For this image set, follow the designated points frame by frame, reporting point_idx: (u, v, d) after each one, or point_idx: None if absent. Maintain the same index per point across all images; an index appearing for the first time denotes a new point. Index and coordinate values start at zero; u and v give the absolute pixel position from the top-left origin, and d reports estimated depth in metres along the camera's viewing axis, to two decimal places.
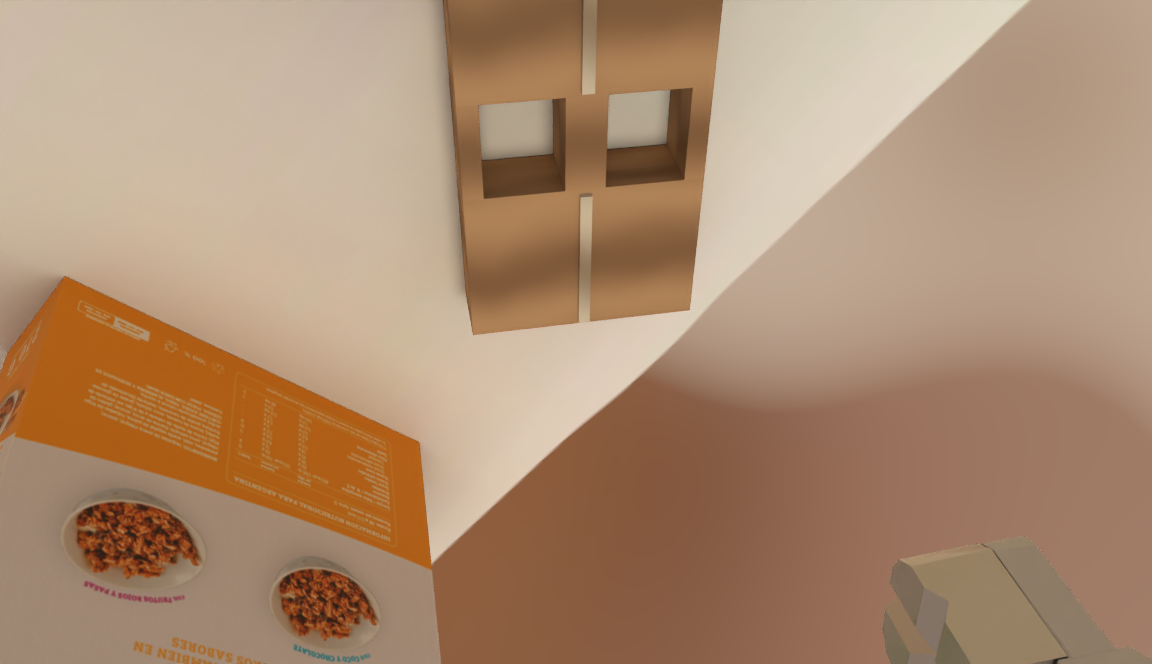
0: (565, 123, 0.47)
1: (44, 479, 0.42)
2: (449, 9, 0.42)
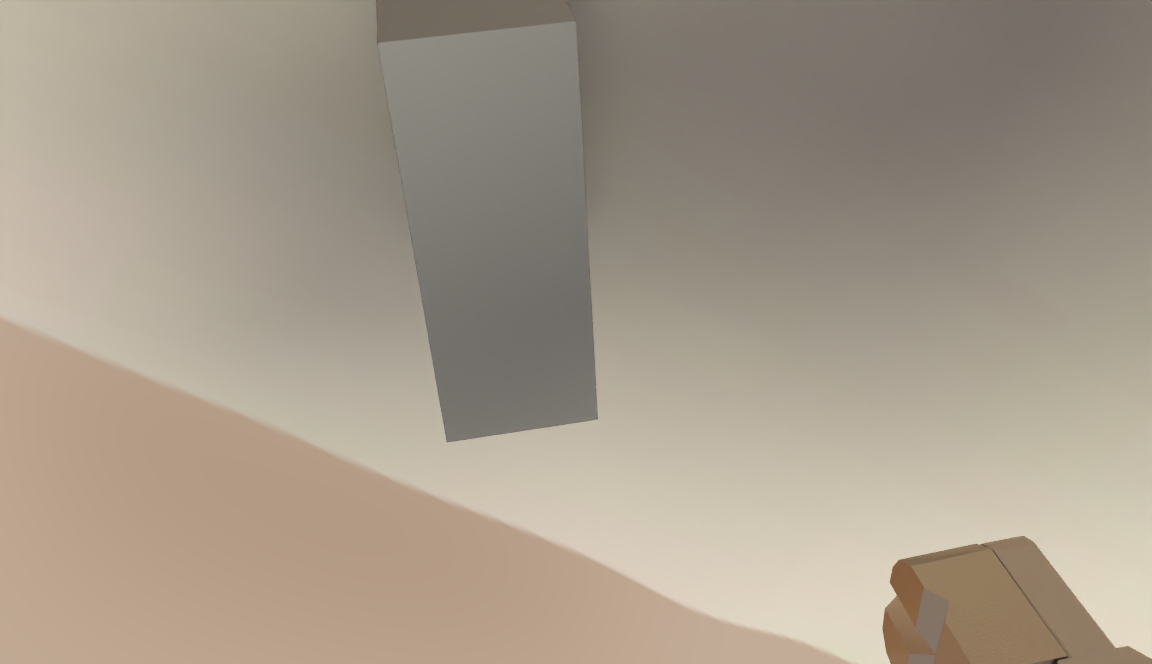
0: None
1: None
2: None
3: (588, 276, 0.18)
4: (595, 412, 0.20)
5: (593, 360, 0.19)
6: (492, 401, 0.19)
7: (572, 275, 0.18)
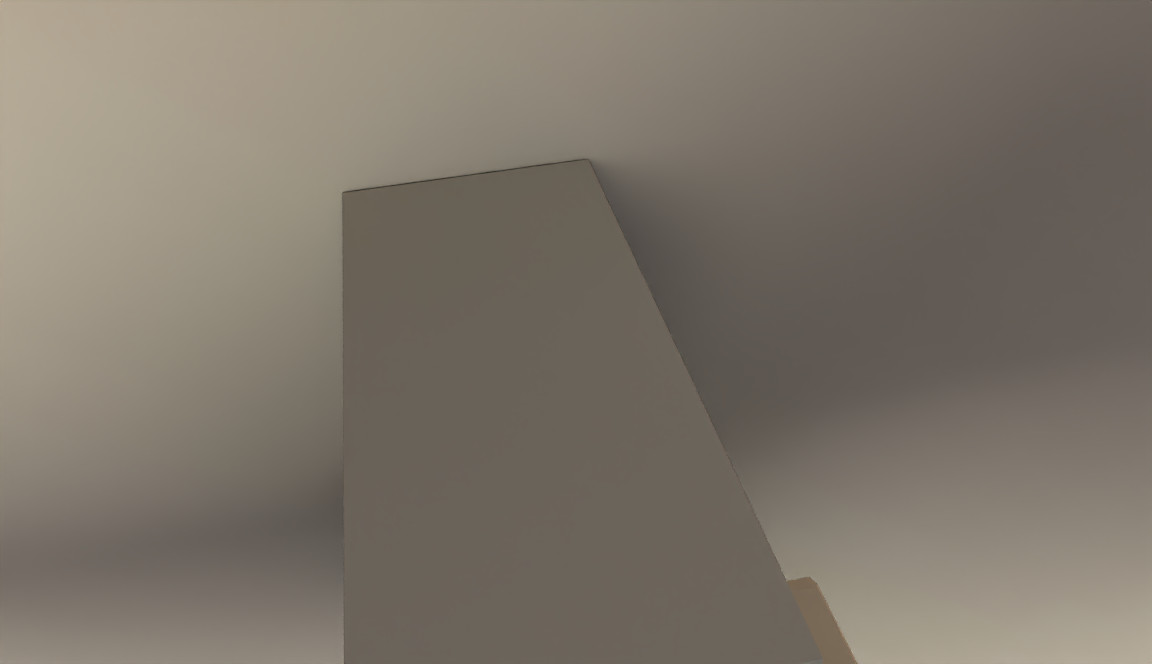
0: None
1: None
2: None
3: None
4: None
5: None
6: None
7: None
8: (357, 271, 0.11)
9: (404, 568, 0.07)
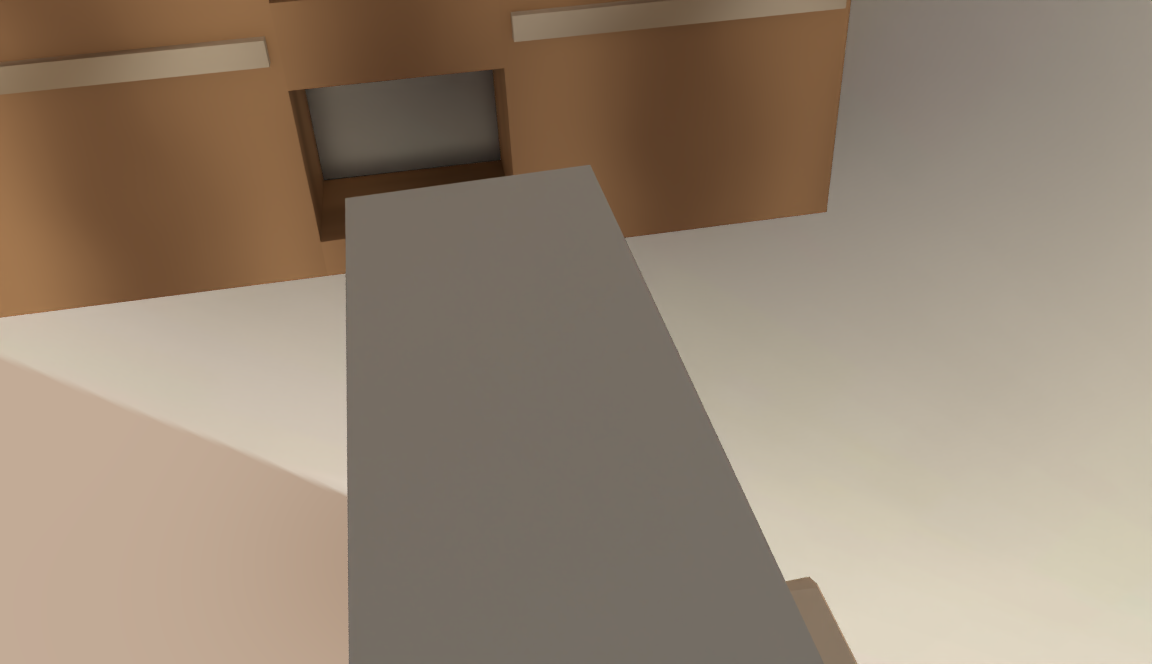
0: None
1: None
2: None
3: None
4: None
5: None
6: None
7: None
8: (360, 277, 0.11)
9: (408, 575, 0.07)
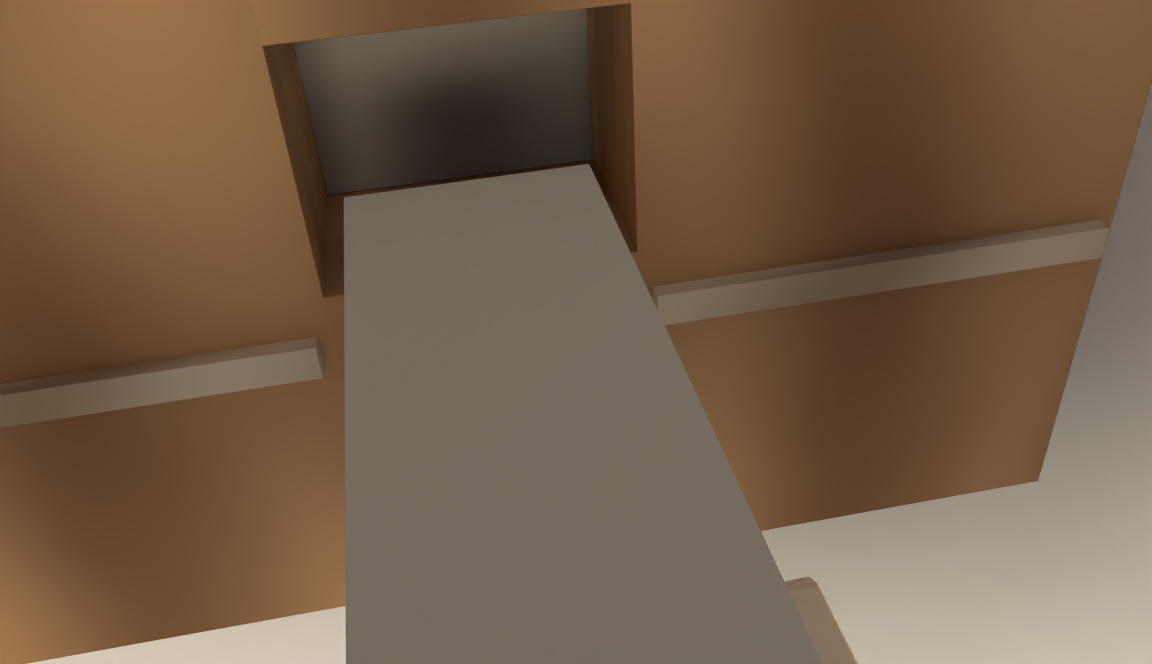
0: None
1: None
2: None
3: None
4: None
5: None
6: None
7: None
8: (359, 276, 0.11)
9: (406, 574, 0.07)
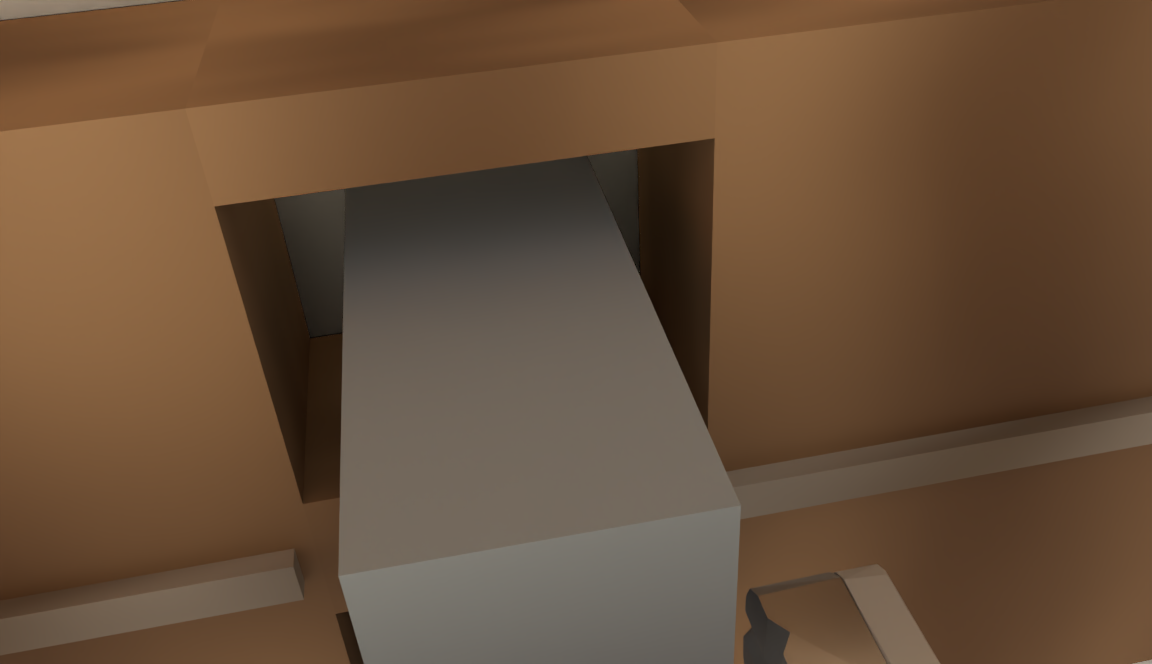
0: None
1: None
2: None
3: None
4: None
5: None
6: None
7: None
8: (358, 210, 0.12)
9: (392, 441, 0.08)
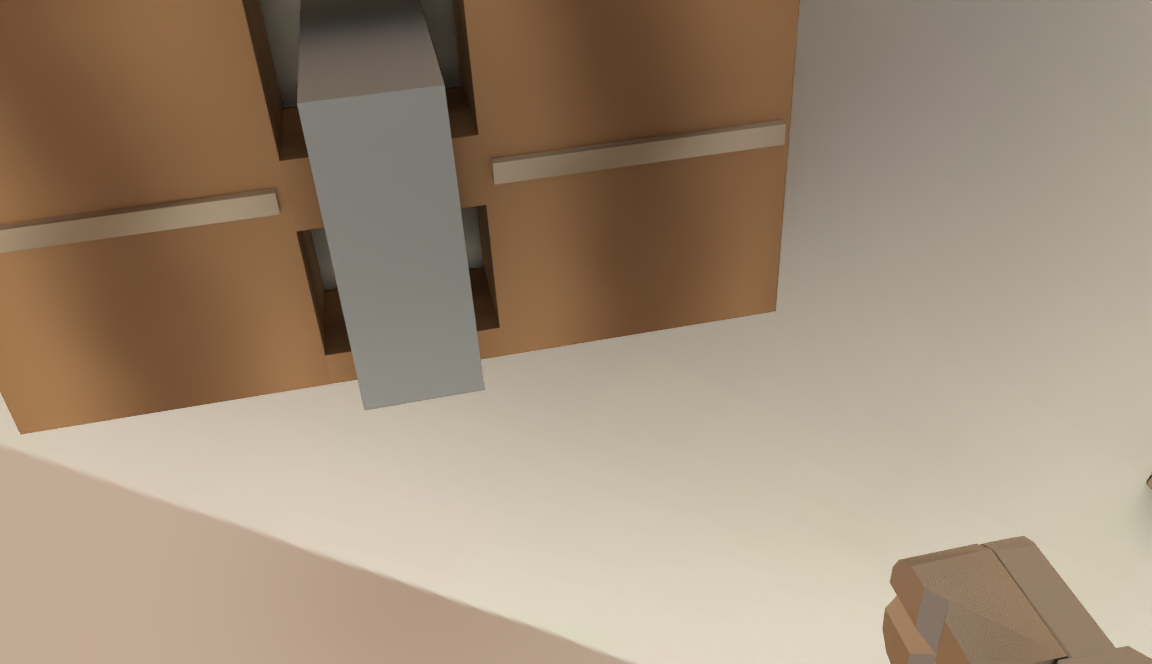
0: None
1: None
2: None
3: (469, 275, 0.24)
4: (482, 384, 0.25)
5: None
6: (398, 376, 0.25)
7: (456, 275, 0.23)
8: (306, 19, 0.25)
9: (318, 77, 0.22)
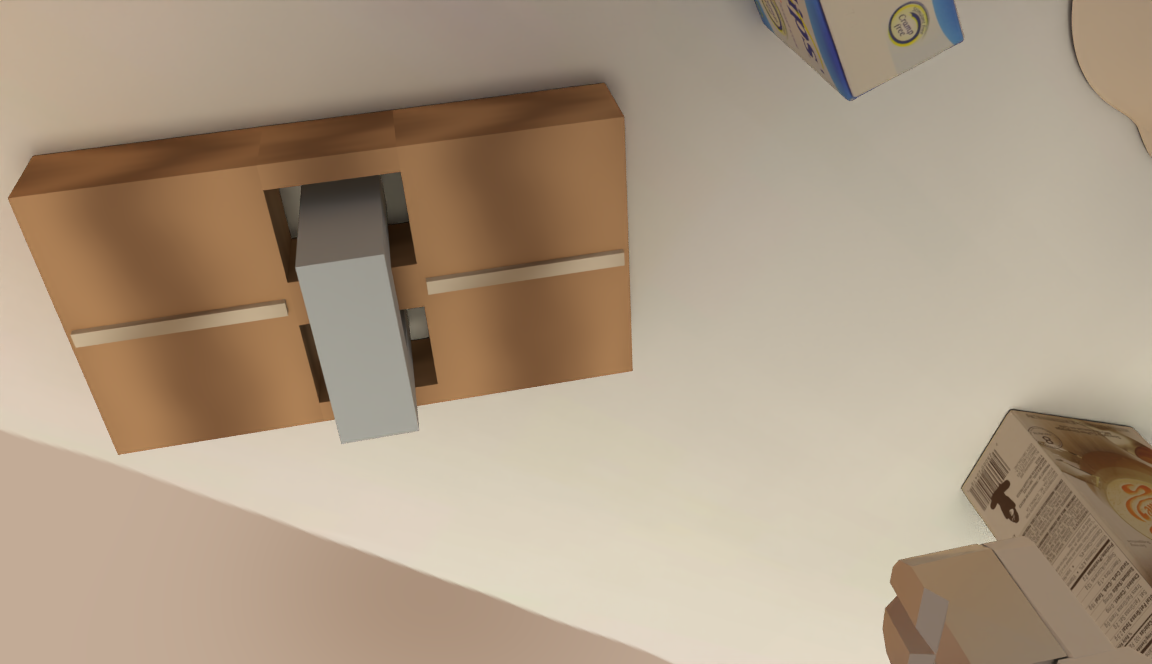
0: None
1: None
2: (518, 131, 0.37)
3: (405, 361, 0.38)
4: (417, 427, 0.39)
5: (413, 401, 0.39)
6: (363, 422, 0.39)
7: (396, 361, 0.37)
8: (304, 192, 0.39)
9: (309, 245, 0.36)
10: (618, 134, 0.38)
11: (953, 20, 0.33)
